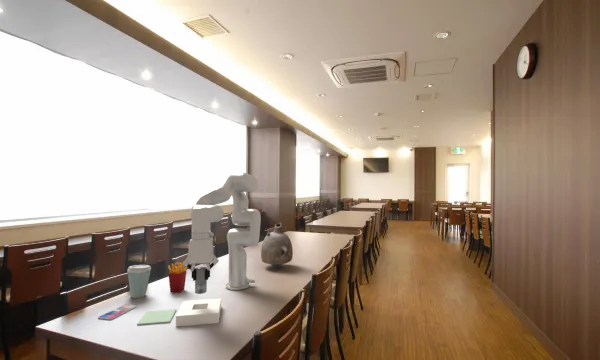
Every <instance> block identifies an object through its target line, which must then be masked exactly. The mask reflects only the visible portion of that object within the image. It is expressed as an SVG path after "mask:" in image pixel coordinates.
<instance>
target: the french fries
mask: <svg viewBox="0 0 600 360" xmlns="http://www.w3.org/2000/svg"><path fill="white" fill-rule="evenodd" d="M184 261H185V260H183V261H182V262H179V261H176V262H175V263H171V265H170V264H169V265H168V266H167V268H168V271H169V273H167V274H168V282H169V284H168V285H169V292H170V293H174V294H175V293H176V294H180V293H181V292H183V291H185V287H186V278H187V269H188V267H187V266H185V265H184V264H183V262H184Z"/></svg>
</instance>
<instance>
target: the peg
mask: <svg viewBox="0 0 600 360" xmlns="http://www.w3.org/2000/svg"><path fill="white" fill-rule="evenodd" d="M206 270H207V266H198V267H197V266H196V267H195V281H194V293H195V294H197V295H201V294H205V293H207V292H208V291H207V290H208V288H207V287H208V286H207V283H208V280H206Z"/></svg>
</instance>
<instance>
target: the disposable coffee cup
mask: <svg viewBox="0 0 600 360" xmlns="http://www.w3.org/2000/svg"><path fill="white" fill-rule="evenodd" d="M151 270H152V267H151V265H148V264H138V265H137V264H134V265H130V266H128V268H127V270H126V272H127V278H128V284H129V286H128V287H129V295H130V297H131V298H134V299H139V298H142V297H145V296H146V294H147V291H148V290H147V289H148V285H149V281H150V274H151Z"/></svg>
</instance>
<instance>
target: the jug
mask: <svg viewBox="0 0 600 360" xmlns="http://www.w3.org/2000/svg"><path fill="white" fill-rule="evenodd" d="M260 249H261V250H260V256H261V257H260V258H261V261H262V263H265V264H267V265H268V264H269V265H271V266H273V267H274V268H279V267H281V266H283V265H286V264H287V263H290V262H292V261H293V253H294V252H293V245H292V241H291V239H290V236H288V234H286V233H284V232H283V225H282V222H279V223H275V224H274V228H273V231H271V232H267V233H266V235H265V237H264V239H263V241H262V244H261V248H260Z"/></svg>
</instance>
